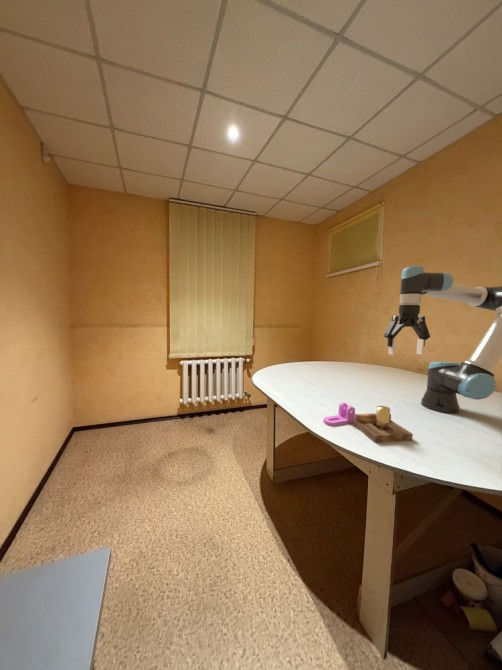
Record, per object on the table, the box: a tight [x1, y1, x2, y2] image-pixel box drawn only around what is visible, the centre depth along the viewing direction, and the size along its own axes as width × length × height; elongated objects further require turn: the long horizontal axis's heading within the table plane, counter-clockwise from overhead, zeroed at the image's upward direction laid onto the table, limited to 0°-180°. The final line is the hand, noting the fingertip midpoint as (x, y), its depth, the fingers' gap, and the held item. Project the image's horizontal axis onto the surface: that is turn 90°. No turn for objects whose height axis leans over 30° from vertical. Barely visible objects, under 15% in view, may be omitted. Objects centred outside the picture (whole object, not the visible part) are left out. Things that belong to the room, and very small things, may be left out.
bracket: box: [323, 402, 356, 427], centre depth 104 cm, size 13×6×7 cm, turn 111°
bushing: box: [376, 405, 391, 430], centre depth 95 cm, size 4×4×10 cm
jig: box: [353, 412, 414, 443], centre depth 95 cm, size 15×13×5 cm
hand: (405, 354), depth 106 cm, fingers open, 13 cm apart
